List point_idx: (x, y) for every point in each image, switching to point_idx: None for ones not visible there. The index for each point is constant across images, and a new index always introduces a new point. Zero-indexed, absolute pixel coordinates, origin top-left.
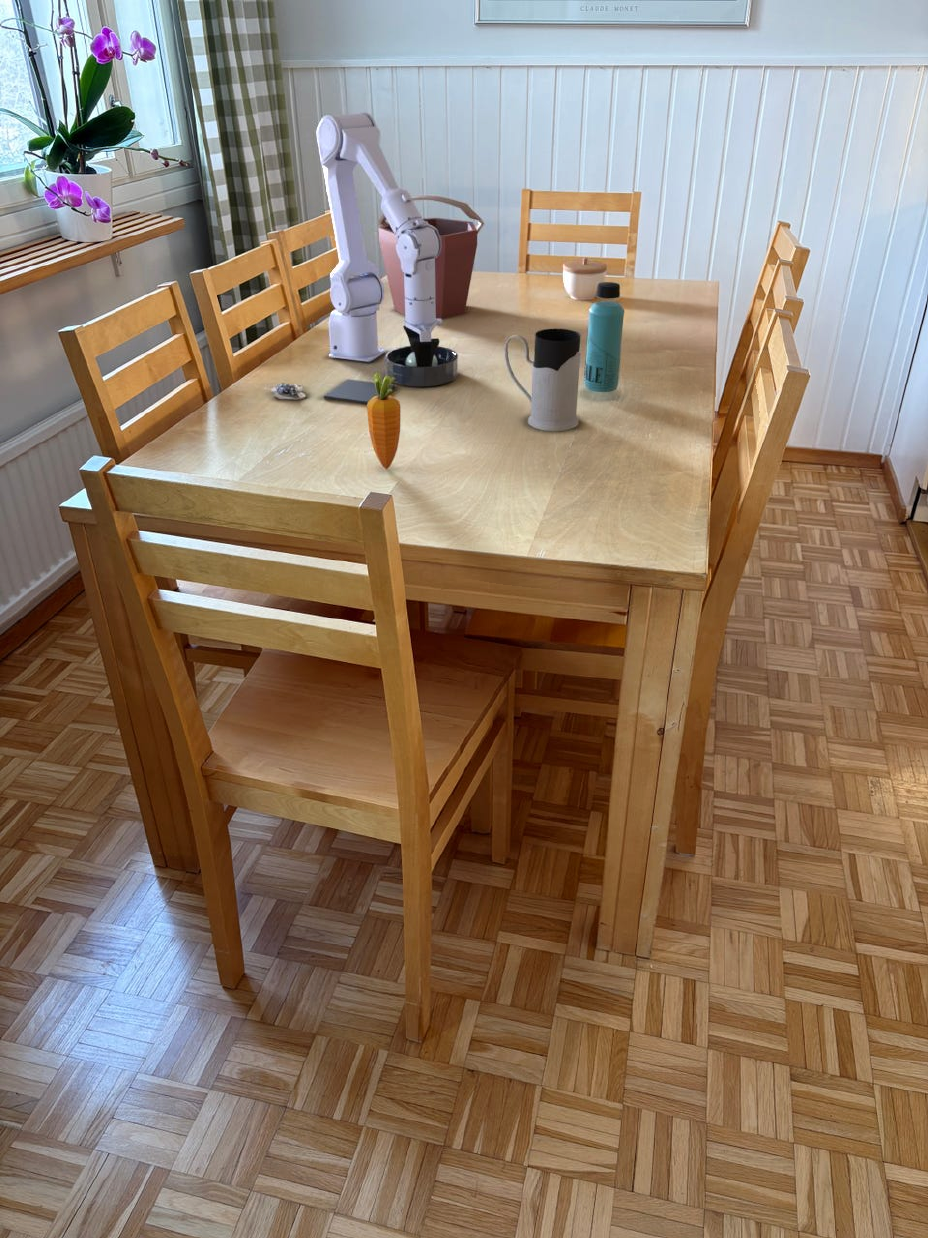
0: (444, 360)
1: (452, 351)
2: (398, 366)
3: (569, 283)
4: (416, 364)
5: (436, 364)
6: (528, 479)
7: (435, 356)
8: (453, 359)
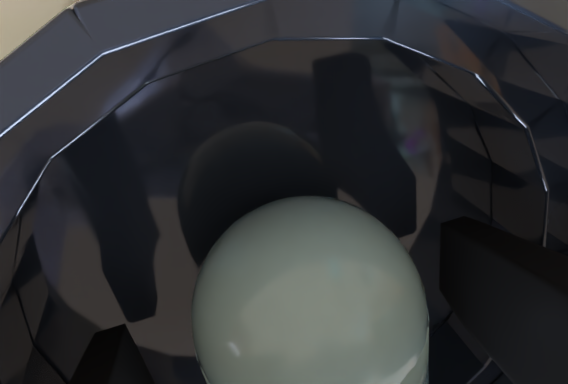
0: (66, 148)
1: (85, 61)
2: None
3: None
4: (496, 363)
5: (357, 211)
6: None
7: (332, 274)
8: (541, 14)
